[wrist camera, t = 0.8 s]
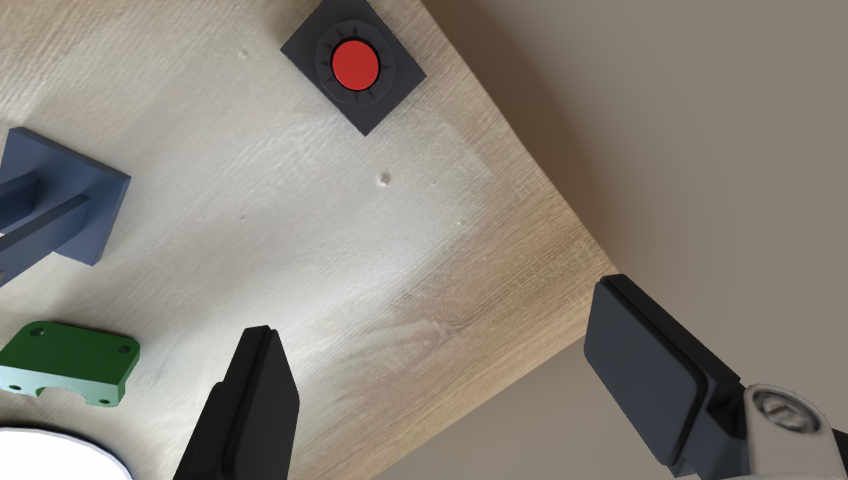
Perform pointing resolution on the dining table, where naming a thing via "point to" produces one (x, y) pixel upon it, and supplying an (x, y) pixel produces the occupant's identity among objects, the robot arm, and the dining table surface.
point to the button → (355, 65)
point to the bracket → (53, 203)
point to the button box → (353, 21)
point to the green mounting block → (68, 362)
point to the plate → (55, 457)
